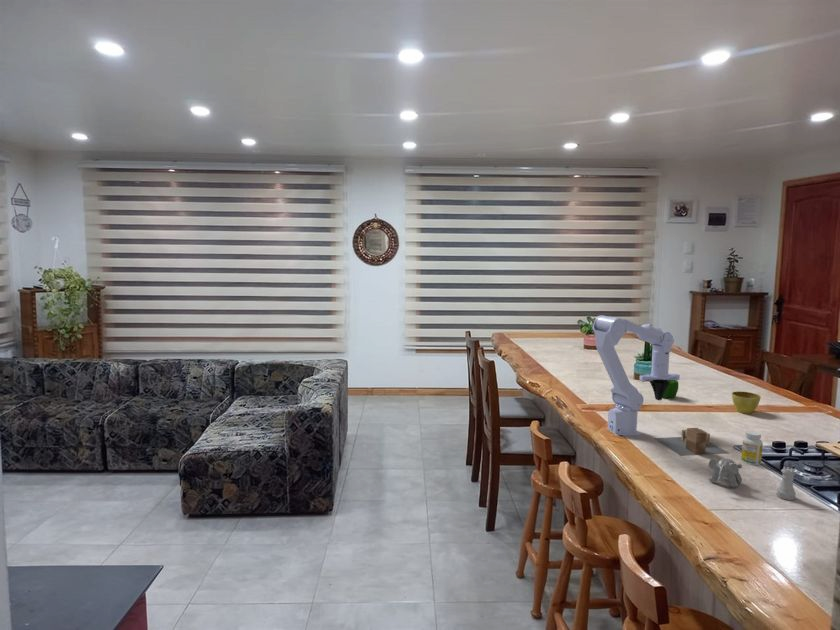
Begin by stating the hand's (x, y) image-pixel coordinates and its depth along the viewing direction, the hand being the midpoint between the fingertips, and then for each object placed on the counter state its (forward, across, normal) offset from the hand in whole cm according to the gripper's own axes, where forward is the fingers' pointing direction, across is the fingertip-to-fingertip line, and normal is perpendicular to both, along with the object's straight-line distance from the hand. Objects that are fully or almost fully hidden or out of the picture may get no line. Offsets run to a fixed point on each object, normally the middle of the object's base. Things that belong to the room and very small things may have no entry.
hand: (658, 399), depth 205 cm
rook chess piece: (+10, +3, -58) cm, 59 cm away
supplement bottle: (+11, +10, -35) cm, 38 cm away
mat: (+10, 0, -20) cm, 23 cm away
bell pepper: (+11, +26, +37) cm, 47 cm away
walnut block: (+10, -2, -25) cm, 27 cm away
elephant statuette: (+10, -8, -49) cm, 51 cm away
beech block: (+8, 0, -17) cm, 19 cm away
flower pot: (+11, +46, +13) cm, 49 cm away
